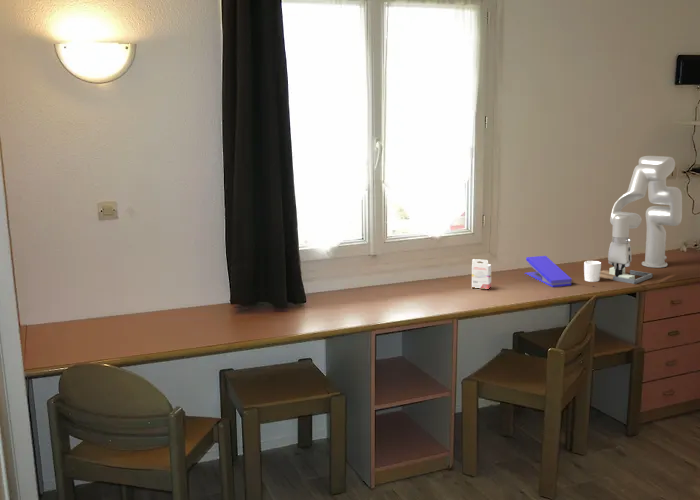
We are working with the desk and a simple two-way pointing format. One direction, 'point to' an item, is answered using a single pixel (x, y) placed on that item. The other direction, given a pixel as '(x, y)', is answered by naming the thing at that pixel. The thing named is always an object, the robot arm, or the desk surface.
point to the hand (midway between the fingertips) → (618, 276)
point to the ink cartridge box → (481, 274)
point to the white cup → (592, 271)
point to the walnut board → (606, 274)
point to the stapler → (548, 272)
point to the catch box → (645, 277)
